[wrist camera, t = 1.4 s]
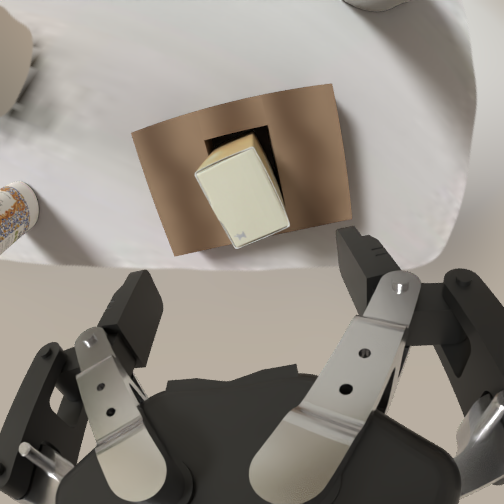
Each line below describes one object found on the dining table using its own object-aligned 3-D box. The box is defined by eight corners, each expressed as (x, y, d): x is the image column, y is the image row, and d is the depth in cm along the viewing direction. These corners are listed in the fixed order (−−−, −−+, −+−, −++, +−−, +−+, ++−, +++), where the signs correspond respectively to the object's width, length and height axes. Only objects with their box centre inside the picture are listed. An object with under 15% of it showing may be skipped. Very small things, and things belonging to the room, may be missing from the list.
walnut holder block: (320, 85, 26) (331, 83, 22) (339, 202, 32) (352, 218, 28) (146, 127, 28) (131, 132, 24) (183, 236, 34) (174, 256, 30)
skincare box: (278, 181, 31) (294, 230, 20) (240, 197, 32) (236, 254, 21) (252, 125, 28) (254, 143, 17) (213, 144, 29) (191, 174, 18)
